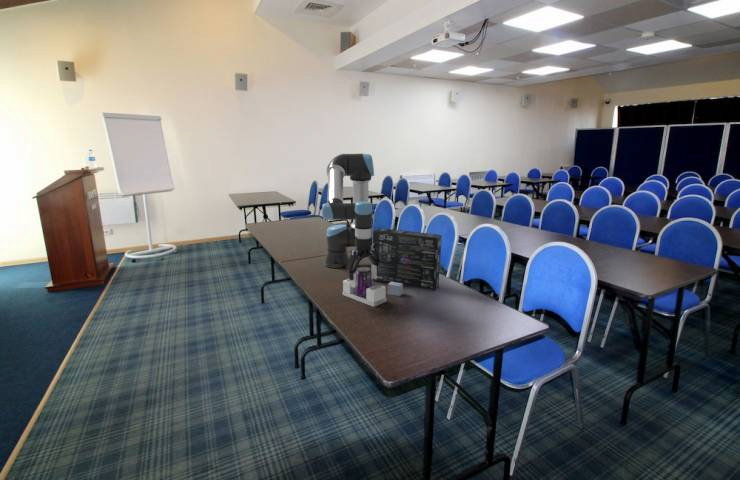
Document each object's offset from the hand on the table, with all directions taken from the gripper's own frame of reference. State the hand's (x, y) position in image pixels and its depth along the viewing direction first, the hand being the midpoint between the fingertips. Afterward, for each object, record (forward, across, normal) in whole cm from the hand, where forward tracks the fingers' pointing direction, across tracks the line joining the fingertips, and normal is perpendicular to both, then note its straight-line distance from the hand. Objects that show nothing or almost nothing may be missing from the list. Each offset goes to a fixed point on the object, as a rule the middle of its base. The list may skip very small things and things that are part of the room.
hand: (363, 282), depth 166 cm
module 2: (+5, 0, +8) cm, 9 cm away
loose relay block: (+8, -14, +7) cm, 17 cm away
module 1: (+5, 0, -7) cm, 9 cm away
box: (+8, -28, +2) cm, 29 cm away
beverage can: (+5, 0, 0) cm, 6 cm away
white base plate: (+7, 0, 0) cm, 7 cm away
